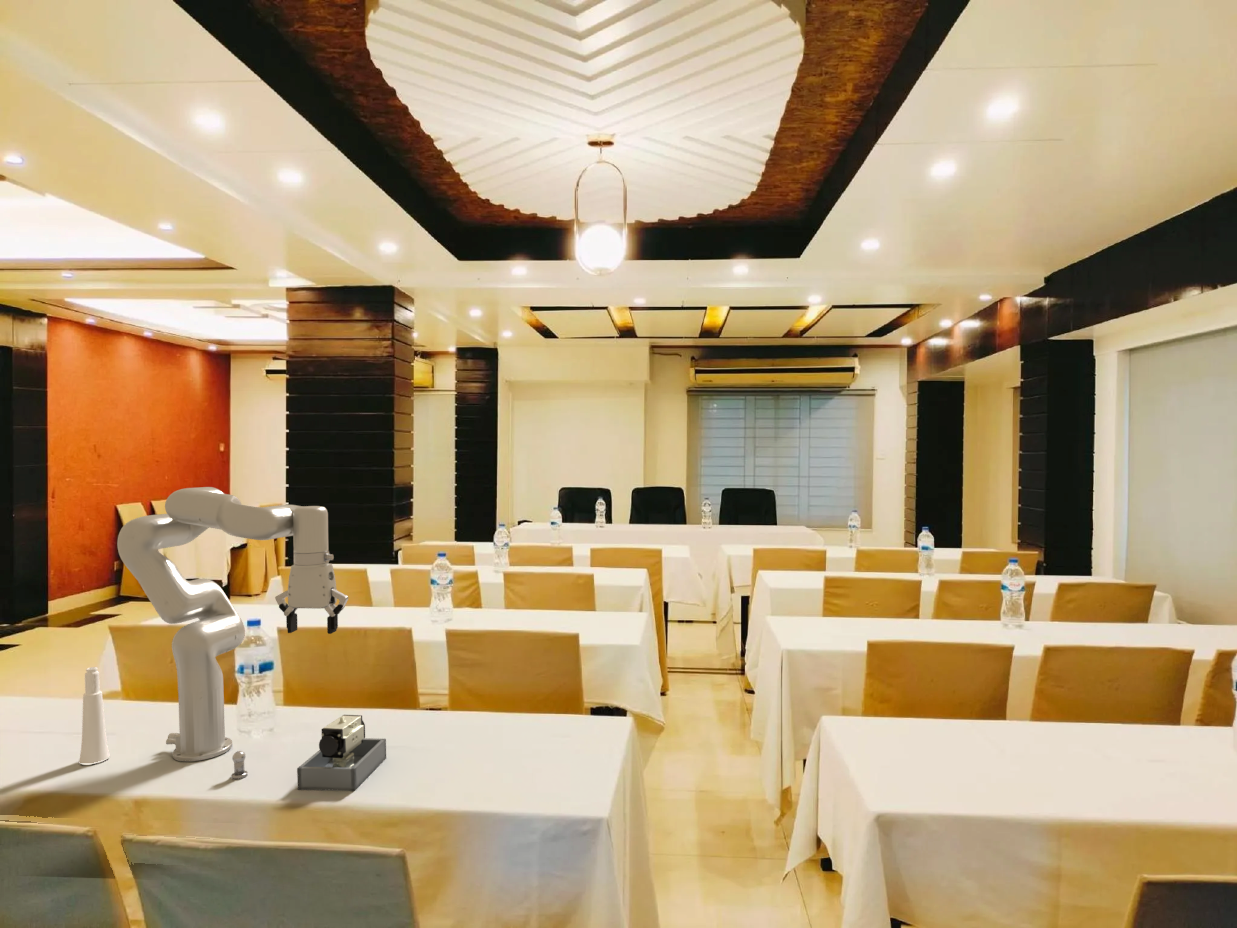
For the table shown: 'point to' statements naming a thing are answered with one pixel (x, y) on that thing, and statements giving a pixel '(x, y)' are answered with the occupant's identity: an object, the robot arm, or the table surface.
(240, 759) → the metal knob
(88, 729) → the cosmetic bottle
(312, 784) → the tray
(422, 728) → the table surface
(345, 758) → the pneumatic valve
